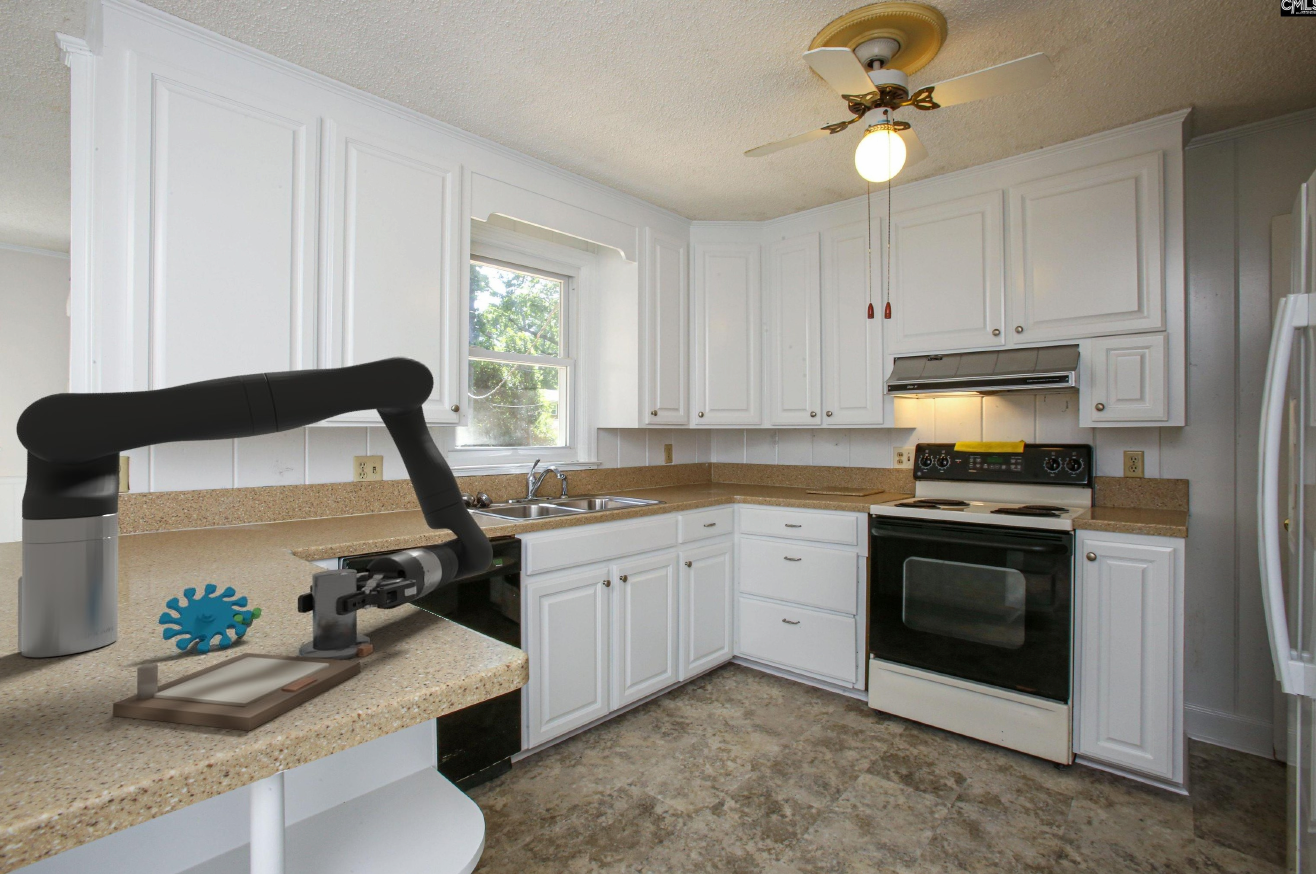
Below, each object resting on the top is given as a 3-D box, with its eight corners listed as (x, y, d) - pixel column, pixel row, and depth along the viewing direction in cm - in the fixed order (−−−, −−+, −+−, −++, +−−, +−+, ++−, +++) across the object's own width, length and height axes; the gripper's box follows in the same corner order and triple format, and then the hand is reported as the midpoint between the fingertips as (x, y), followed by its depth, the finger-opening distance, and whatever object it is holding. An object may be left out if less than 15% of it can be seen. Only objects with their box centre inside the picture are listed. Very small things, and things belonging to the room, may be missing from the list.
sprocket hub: (283, 660, 76) (282, 578, 76) (330, 640, 84) (330, 565, 84) (345, 665, 74) (345, 581, 74) (388, 644, 82) (388, 568, 82)
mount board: (112, 715, 61) (112, 672, 61) (245, 662, 75) (245, 627, 75) (249, 730, 57) (249, 685, 57) (360, 672, 72) (360, 635, 72)
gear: (153, 649, 76) (165, 580, 82) (149, 675, 79) (161, 606, 85) (260, 644, 82) (264, 580, 88) (252, 667, 85) (257, 604, 91)
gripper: (362, 550, 95) (270, 573, 78) (447, 553, 92) (370, 577, 75) (362, 599, 95) (270, 633, 78) (447, 604, 92) (370, 640, 75)
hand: (319, 605), depth 77 cm, fingers closed on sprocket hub, 5 cm apart
